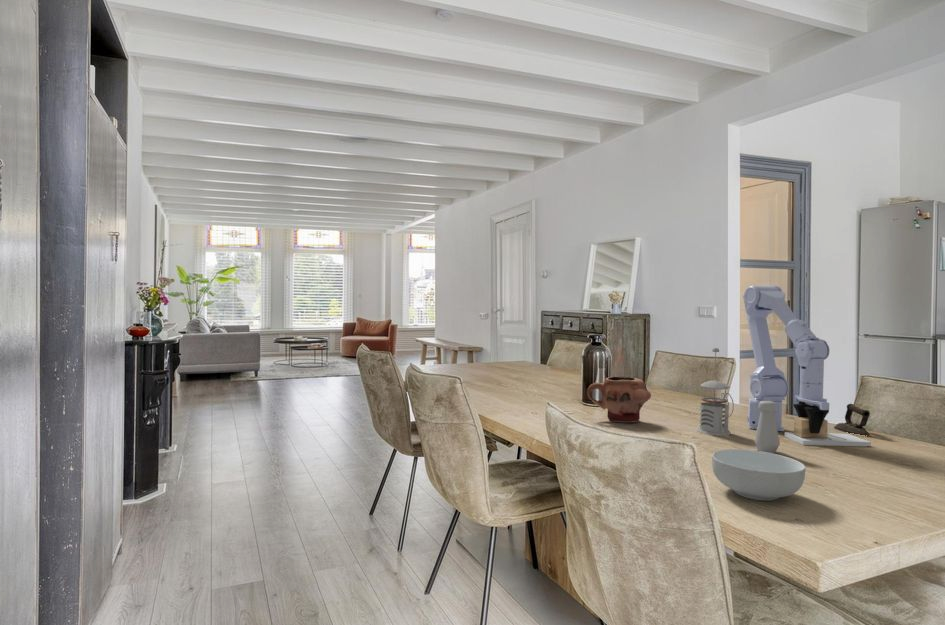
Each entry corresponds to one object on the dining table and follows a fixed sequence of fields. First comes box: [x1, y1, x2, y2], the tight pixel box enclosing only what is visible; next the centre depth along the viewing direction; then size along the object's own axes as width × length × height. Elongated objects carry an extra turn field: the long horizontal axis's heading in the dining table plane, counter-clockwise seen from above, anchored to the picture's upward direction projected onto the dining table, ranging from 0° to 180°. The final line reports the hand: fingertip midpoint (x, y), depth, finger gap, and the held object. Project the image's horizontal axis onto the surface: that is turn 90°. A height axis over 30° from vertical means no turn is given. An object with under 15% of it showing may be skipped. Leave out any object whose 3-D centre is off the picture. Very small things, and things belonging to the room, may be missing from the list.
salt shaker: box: [754, 401, 781, 454], centre depth 151 cm, size 6×6×13 cm
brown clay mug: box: [586, 376, 652, 423], centre depth 188 cm, size 20×12×14 cm, turn 87°
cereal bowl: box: [711, 448, 806, 501], centre depth 117 cm, size 17×17×7 cm
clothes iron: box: [833, 403, 871, 436], centre depth 175 cm, size 7×11×10 cm, turn 175°
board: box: [784, 431, 872, 447], centre depth 163 cm, size 18×10×1 cm, turn 88°
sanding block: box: [793, 416, 829, 439], centre depth 163 cm, size 7×4×5 cm, turn 88°
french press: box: [696, 347, 735, 437], centre depth 172 cm, size 10×12×25 cm
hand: (810, 431), depth 163 cm, fingers closed on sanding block, 4 cm apart
